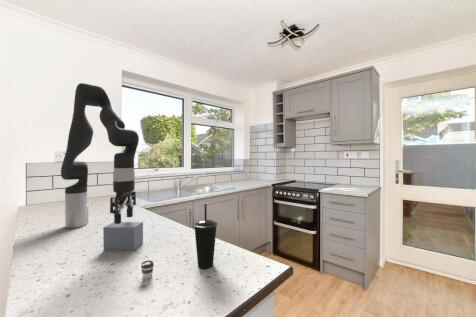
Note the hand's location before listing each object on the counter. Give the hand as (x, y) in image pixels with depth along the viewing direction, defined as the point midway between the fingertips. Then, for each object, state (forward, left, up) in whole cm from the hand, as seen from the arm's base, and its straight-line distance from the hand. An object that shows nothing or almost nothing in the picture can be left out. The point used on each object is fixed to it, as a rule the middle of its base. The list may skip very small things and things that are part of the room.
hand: (123, 220), depth 86 cm
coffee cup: (+22, +19, -11) cm, 31 cm away
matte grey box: (0, 0, -11) cm, 11 cm away
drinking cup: (+14, +35, -11) cm, 39 cm away
